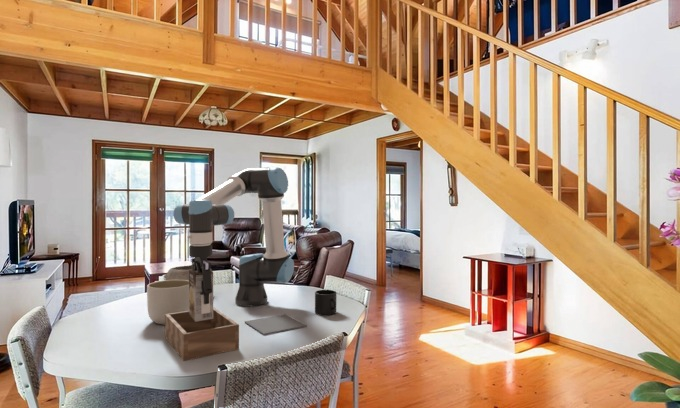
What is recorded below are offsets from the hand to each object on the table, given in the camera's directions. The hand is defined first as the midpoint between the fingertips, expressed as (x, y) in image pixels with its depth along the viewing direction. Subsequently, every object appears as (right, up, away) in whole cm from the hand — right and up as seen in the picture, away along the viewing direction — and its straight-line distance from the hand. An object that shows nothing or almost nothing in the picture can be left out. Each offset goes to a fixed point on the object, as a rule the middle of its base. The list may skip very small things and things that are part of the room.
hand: (201, 309), depth 137 cm
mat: (+22, -11, +20) cm, 32 cm away
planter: (-21, -11, +24) cm, 33 cm away
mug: (+42, -12, +36) cm, 57 cm away
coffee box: (0, -3, 0) cm, 3 cm away
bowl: (-29, -11, +67) cm, 74 cm away
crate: (0, -11, 0) cm, 11 cm away
